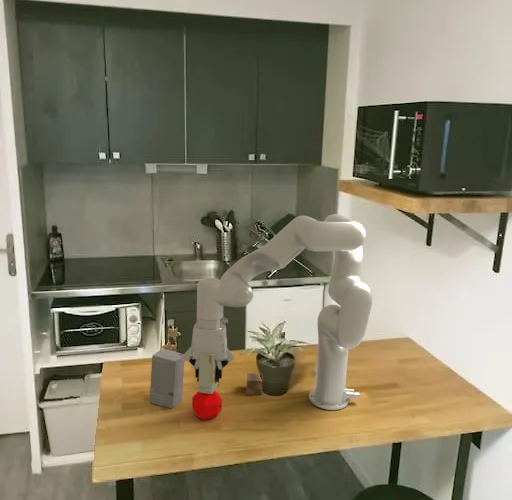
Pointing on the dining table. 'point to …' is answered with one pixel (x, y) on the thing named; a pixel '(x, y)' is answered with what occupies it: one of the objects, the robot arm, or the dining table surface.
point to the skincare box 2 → (207, 373)
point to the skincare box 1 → (167, 378)
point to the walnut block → (254, 384)
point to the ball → (206, 405)
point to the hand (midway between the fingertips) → (208, 379)
